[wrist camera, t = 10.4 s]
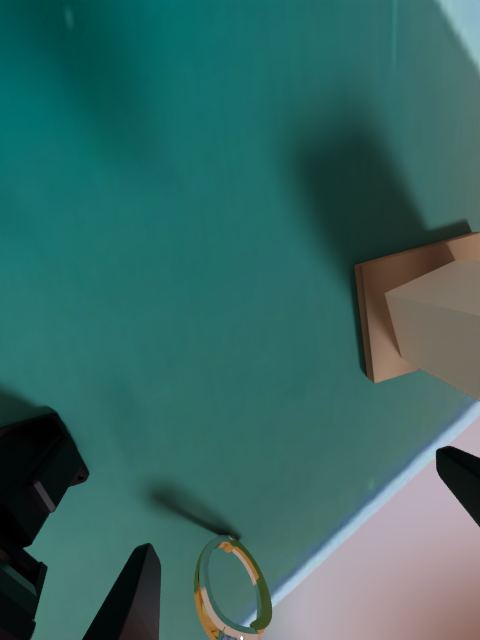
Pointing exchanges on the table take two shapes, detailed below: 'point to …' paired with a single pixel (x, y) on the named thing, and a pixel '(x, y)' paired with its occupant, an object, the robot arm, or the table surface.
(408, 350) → the sleeve
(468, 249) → the post stand
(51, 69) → the table surface
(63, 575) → the table surface
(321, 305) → the table surface
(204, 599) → the ring
